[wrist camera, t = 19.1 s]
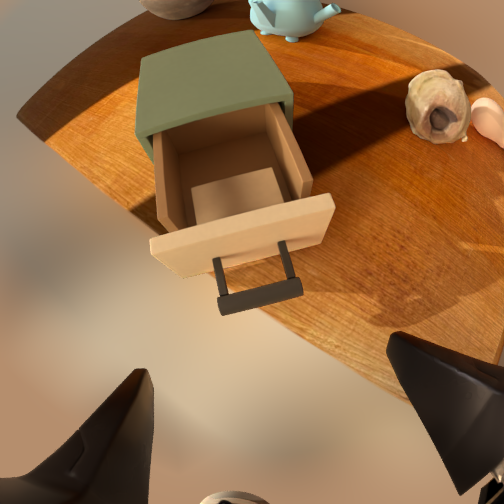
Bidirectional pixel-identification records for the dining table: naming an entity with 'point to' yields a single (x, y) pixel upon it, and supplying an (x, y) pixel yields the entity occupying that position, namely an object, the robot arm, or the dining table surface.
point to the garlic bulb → (438, 107)
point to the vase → (176, 8)
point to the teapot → (290, 16)
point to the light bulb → (488, 119)
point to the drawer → (242, 225)
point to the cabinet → (206, 83)
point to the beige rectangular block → (236, 195)
